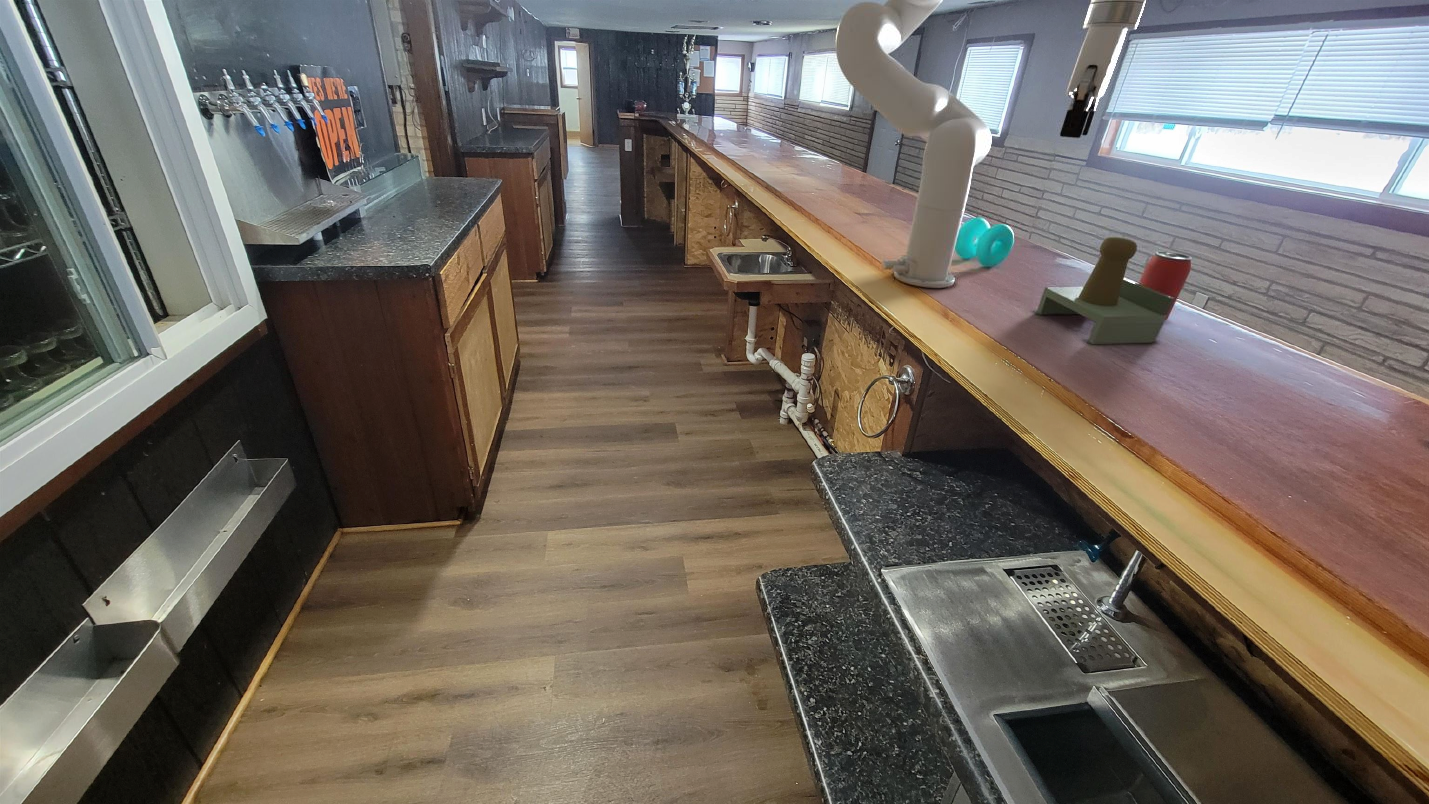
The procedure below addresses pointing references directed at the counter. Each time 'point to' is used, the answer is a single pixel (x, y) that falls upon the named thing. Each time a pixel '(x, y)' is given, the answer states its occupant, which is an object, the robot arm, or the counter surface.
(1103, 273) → the cork
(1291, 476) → the counter surface
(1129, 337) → the shelf
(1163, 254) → the beer can
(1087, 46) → the robot arm
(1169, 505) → the counter surface
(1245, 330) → the counter surface
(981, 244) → the turquoise spool
